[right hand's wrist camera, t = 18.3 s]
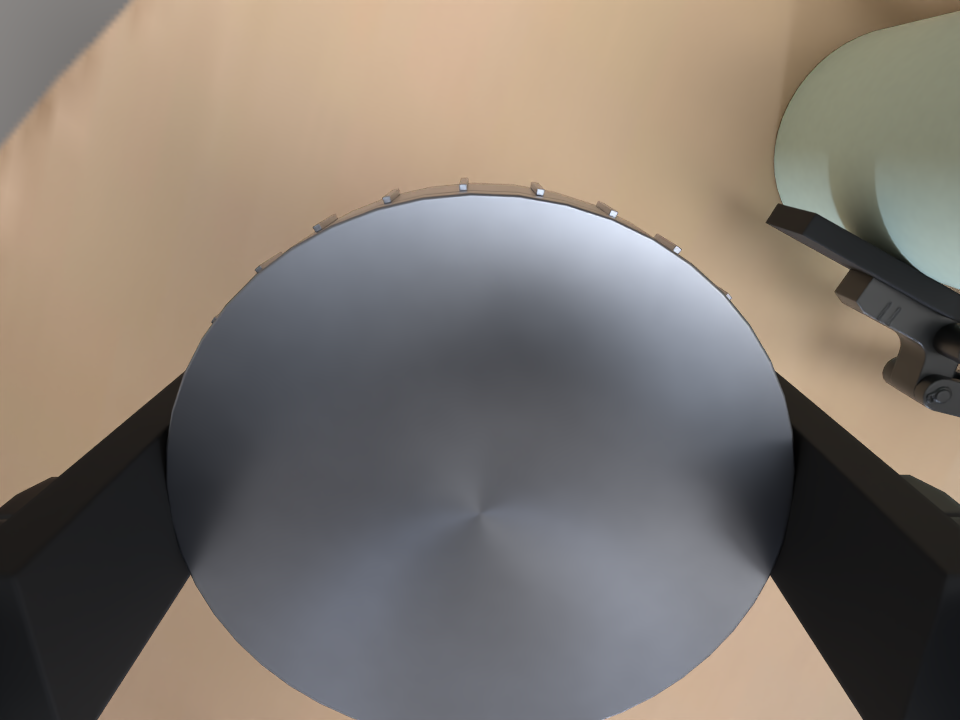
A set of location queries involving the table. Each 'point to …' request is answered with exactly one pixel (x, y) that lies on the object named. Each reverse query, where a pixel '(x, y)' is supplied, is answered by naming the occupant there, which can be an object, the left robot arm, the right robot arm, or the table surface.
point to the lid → (480, 460)
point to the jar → (883, 143)
